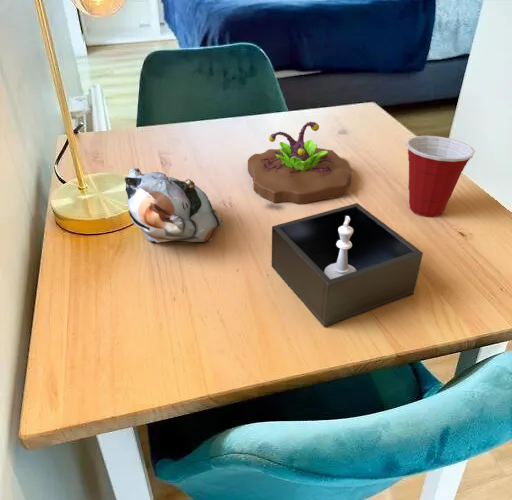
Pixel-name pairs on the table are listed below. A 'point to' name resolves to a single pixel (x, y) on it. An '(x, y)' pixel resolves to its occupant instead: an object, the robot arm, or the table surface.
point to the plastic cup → (434, 172)
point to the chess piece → (342, 253)
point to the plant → (299, 171)
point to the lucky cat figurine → (170, 208)
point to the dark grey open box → (359, 256)
